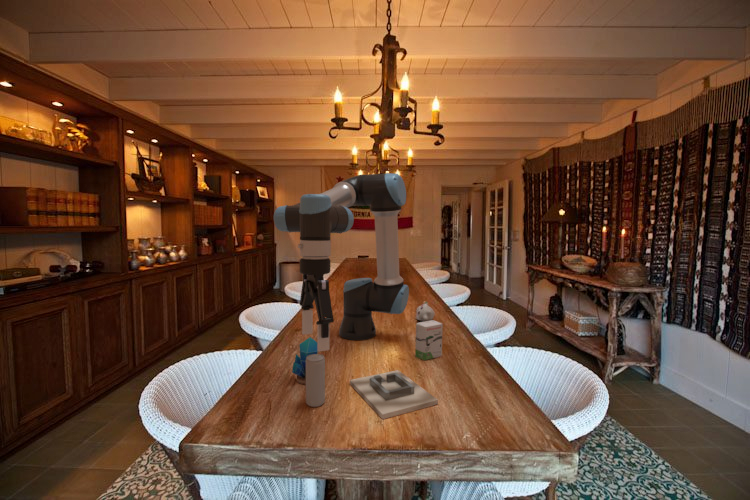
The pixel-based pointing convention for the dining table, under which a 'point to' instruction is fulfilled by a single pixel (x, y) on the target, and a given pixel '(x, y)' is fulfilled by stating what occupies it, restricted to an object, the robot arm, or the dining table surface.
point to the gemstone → (303, 359)
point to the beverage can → (315, 380)
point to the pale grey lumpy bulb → (424, 312)
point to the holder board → (392, 393)
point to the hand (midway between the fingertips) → (314, 341)
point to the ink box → (428, 340)
